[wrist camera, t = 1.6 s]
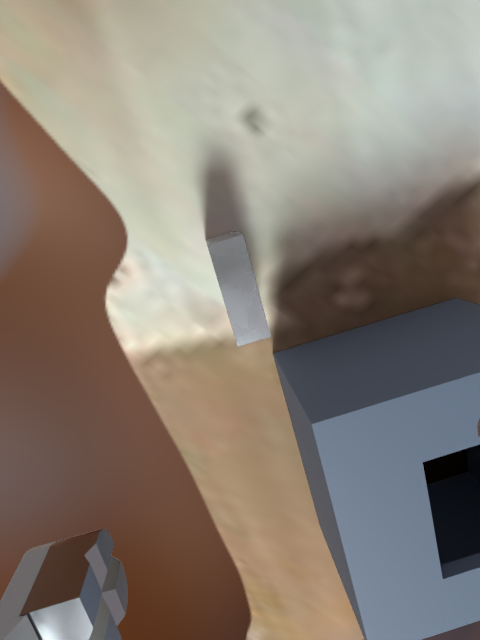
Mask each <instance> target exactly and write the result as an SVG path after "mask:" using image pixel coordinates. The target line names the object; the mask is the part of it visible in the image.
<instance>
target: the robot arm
mask: <svg viewBox="0 0 480 640" xmlns="http://www.w3.org/2000/svg"><path fill="white" fill-rule="evenodd" d="M477 429H478V436H479V437H480V418H479V421H478V425H477ZM113 546H114V543H113V541H112V538H111V536H110V534H109V532H108V531H107V530H105V529H100V530H96V531H92V532H88V533H85V534H81V535H77V536H74V537H70V538H66V539H62V540H59V541H56V542H52V543H49V544H45V545H41V546H38V547H35V548H31V549H30V550H29V551H27V552H26V553H25V554H24V556H23V558H22V560H21V562H20V564H19V566H18V568H17V570H16V572H15V573H14V575H13V577H12V579H11V581H10V583H9V585H8V587H7V589H6V591H5V593H4V595H3V597H2V599H1V601H0V640H121V636H120V633H119V631H118V628H117V626H118V624H119V623H120V622H121V620H122V619H123V617H124V616H125V614H126V608H127V601H128V596H127V595H128V594H127V580H126V575H125V571H124V568H123V566H122V563H121V561H120V560H118V559H116V558H115V557H113V556H111V554H112V550H113Z"/></svg>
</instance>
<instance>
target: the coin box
mask: <svg viewBox="0 0 480 640" xmlns="http://www.w3.org/2000/svg"><path fill="white" fill-rule="evenodd" d="M273 356H274V359H275V363H276V367H277V370H278V374H279V378H280V381H281V385H282V389H283V392H284V396H285V400H286V403H287V407H288V411H289V414H290V418H291V422H292V425H293V429H294V433H295V436H296V440H297V444H298V447H299V451H300V454H301V458H302V462H303V465H304V469H305V473H306V476H307V480H308V484H309V487H310V491H311V495H312V498H313V502H314V506H315V509H316V513H317V517H318V520H319V524H320V527H321V530H322V532H323V535H324V537H325V540H326V542H327V545H328V548H329V550H330V553H331V555H332V558H333V560H334V563H335V565H336V568H337V570H338V573H339V575H340V578H341V580H342V583H343V586H344V588H345V591H346V593H347V596H348V598H349V601H350V603H351V606H352V608H353V611H354V613H355V616H356V619H357V621H358V624H359V626H360V629H361V631H362V634H363V636H364V639H365V640H421V639H424V638H427V637H430V636H433V635H436V634H439V633H443V632H446V631H449V630H452V629H455V628H458V627H461V626H464V625H467V624H470V623H473V622H476V621H479V620H480V437H479V436H478V429H477V425H478V421H479V418H480V305H477V304H474V303H471V302H468V301H465V300H462V299H459V298H454V299H450V300H447V301H444V302H441V303H437V304H434V305H431V306H427V307H424V308H421V309H417V310H414V311H411V312H408V313H404V314H401V315H398V316H394V317H391V318H388V319H385V320H381V321H378V322H375V323H371V324H368V325H365V326H361V327H358V328H355V329H352V330H348V331H345V332H342V333H338V334H335V335H332V336H328V337H325V338H322V339H319V340H315V341H312V342H309V343H305V344H302V345H299V346H295V347H292V348H289V349H286V350H282V351H279V352H276V353H273ZM464 449H466V454H467V462H468V469H469V472H465V473H462V474H459V475H456V476H453V477H450V478H446V479H443V480H440V481H437V482H434V483H431V484H426V478H425V472H424V467H423V462H425V461H429V460H432V459H435V458H438V457H441V456H444V455H448V454H451V453H454V452H457V451H460V450H464Z"/></svg>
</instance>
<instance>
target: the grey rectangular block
mask: <svg viewBox="0 0 480 640" xmlns="http://www.w3.org/2000/svg"><path fill="white" fill-rule="evenodd" d="M206 243H207V246H208V250H209V253H210V256H211V260H212V263H213V266H214V270H215V273H216V276H217V280H218V283H219V286H220V290H221V293H222V296H223V300H224V303H225V306H226V310H227V313H228V316H229V320H230V323H231V326H232V330H233V333H234V336H235V339H236V342H237V346H241V345H244V344H248V343H251V342H254V341H257V340H261V339H264V338H267V337H271V335H270V331H269V328H268V324H267V320H266V317H265V313H264V309H263V306H262V302H261V298H260V295H259V291H258V287H257V284H256V280H255V276H254V273H253V269H252V265H251V262H250V258H249V254H248V251H247V247H246V243H245V239H244V236H243V234H241V233H238V232H236V231H233V232H230V233H226V234H223V235H220V236H216V237H213V238H209V239H206Z"/></svg>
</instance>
